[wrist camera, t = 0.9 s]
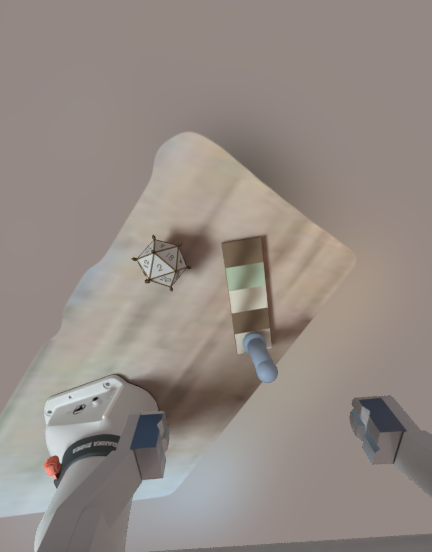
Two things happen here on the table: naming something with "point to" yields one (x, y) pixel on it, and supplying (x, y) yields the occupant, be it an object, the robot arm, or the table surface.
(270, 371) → the pawn
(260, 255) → the track
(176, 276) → the game die
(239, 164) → the table surface
